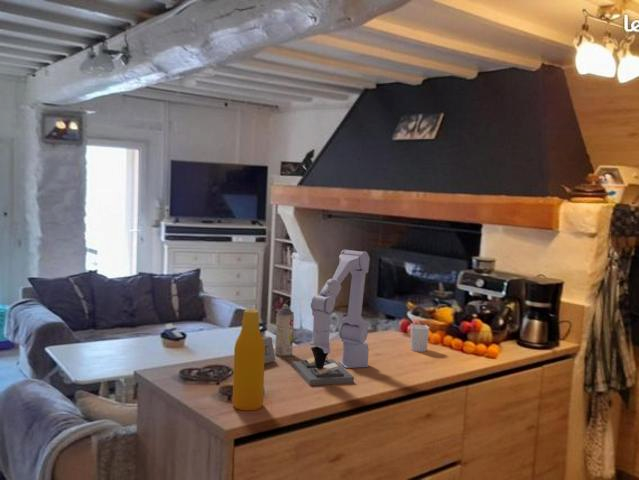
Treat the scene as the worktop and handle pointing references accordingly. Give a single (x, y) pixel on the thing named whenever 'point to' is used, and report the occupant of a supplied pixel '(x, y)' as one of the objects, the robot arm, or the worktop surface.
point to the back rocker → (313, 361)
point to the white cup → (419, 337)
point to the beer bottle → (249, 364)
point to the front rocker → (327, 368)
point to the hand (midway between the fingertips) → (319, 368)
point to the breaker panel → (315, 378)
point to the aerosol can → (284, 332)
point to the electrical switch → (269, 350)
